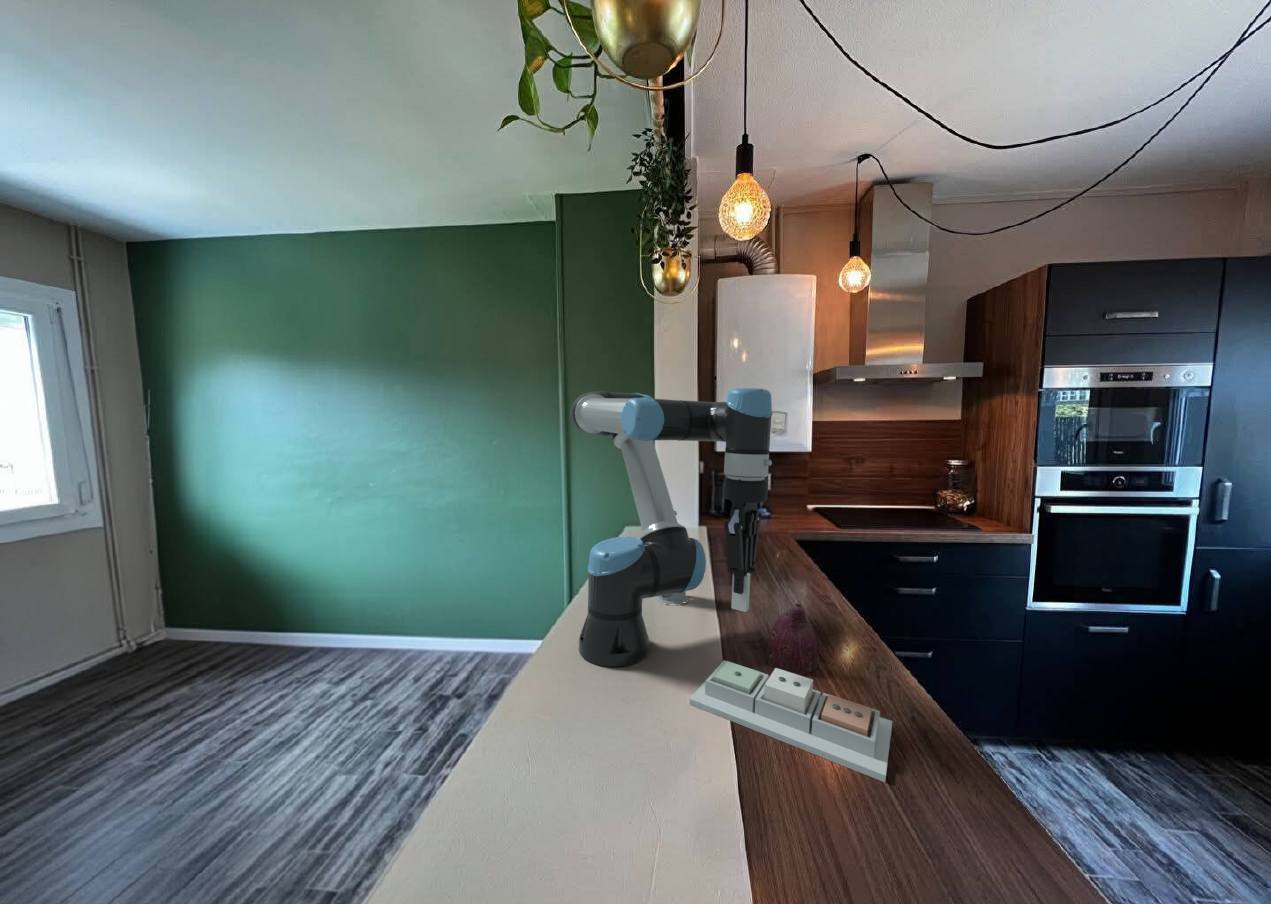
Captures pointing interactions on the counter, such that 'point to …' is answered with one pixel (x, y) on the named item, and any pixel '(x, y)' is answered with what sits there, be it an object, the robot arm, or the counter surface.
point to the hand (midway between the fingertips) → (740, 608)
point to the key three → (847, 715)
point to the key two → (789, 690)
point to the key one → (738, 677)
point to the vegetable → (793, 643)
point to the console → (800, 726)
